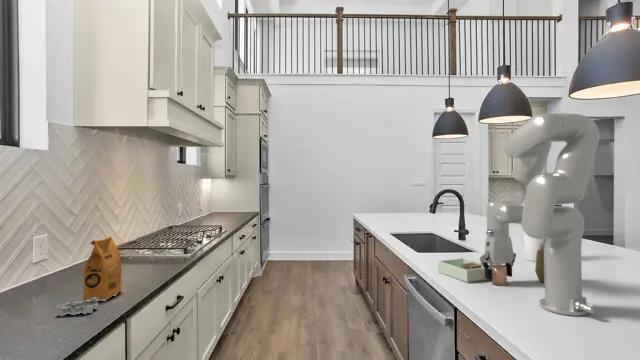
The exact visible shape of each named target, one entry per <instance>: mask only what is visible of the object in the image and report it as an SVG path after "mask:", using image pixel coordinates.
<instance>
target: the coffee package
mask: <svg viewBox="0 0 640 360" xmlns="http://www.w3.org/2000/svg"><path fill="white" fill-rule="evenodd" d="M90 245H93V246H94V247H93V248H92V250H91V254H90V255H89V256H88V258H87V260H86V262H85V263H84V267H83V270H82V279H83V280H82V281H83V287H82V288H83V292H82V293H83V294H82V295H83V296H82V298H83V301H85V300H90V298H93V297H100V298H99V300H102V299H107V298H109V297H111V296H113V295H115V294H118V293H119V292H120V291H121V292H122V262H121V261H122V259H121V253H120V250H119V248H118V246H117V245H116V243H115V241H114V239H113V238H112V236H110V235H109V236H106V238H103V239H95V240H94V239H92V241H91V242H90ZM121 292H120V293H121ZM120 293H119V294H120ZM119 294H118V295H119ZM111 298H112V297H111Z"/></svg>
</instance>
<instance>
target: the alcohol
mask: <svg viewBox="0 0 640 360" xmlns="http://www.w3.org/2000/svg"><path fill="white" fill-rule="evenodd" d="M523 235H524V236H523V239H524V241H523V242H524V243H523V245H524V259H525V260H526V261H527V262H531V263H536V256H537V250H539V249H540V244H543V240H544V239H536V238H532V237H530V236H528V235H527V234H526V233H525V231H524V230H523Z"/></svg>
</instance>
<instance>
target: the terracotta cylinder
mask: <svg viewBox="0 0 640 360" xmlns="http://www.w3.org/2000/svg"><path fill="white" fill-rule="evenodd" d="M505 265H506V264H493V266H492V270H493V279H492V280H491V282H492V285H495V286H501V287H502V286H503V287H504V286H507V285H508V280H507V279H508V276H507V268H506V266H505Z"/></svg>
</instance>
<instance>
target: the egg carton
mask: <svg viewBox="0 0 640 360" xmlns="http://www.w3.org/2000/svg"><path fill="white" fill-rule="evenodd" d="M99 298H100V297H93V298H90V300H83V301H81V300H80V301H75V302H72V303H71V302H66V303H65V302H64V303H62V304H58V306H56V308H57V314H58V313H60V314H63V313H66V312H71V313H75V312H78V311H83V312H87V311H92V310H93V307H97V306H98V307H99V302H97V300H99ZM82 305H85V306H82ZM79 306H82V307H79Z"/></svg>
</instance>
